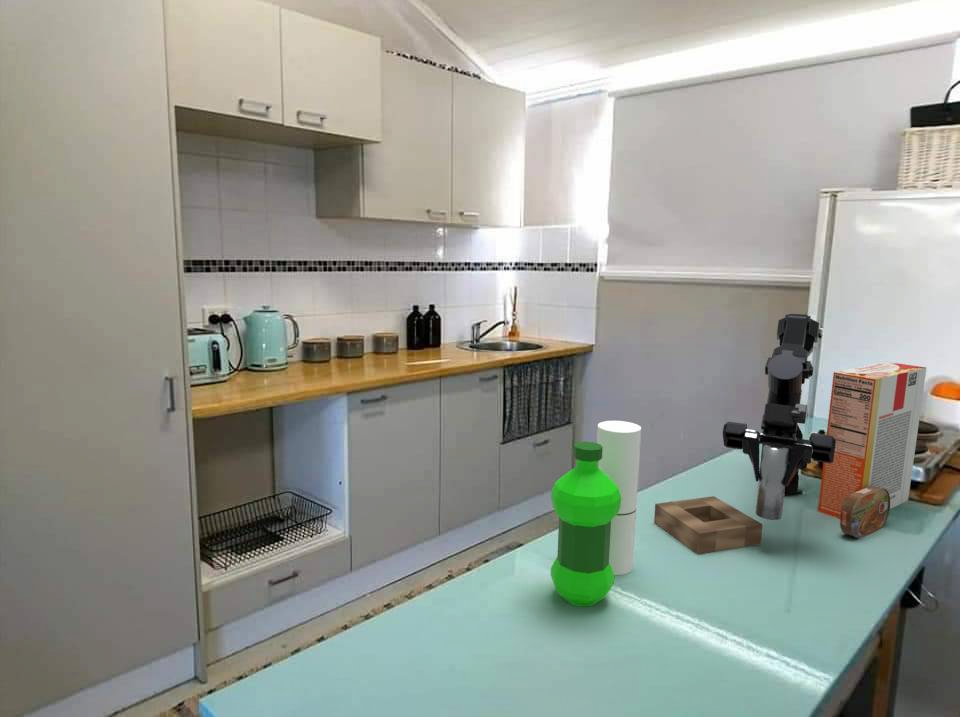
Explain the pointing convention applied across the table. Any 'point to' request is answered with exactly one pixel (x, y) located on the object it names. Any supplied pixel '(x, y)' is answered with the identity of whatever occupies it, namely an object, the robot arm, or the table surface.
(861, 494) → the tin
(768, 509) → the grey glossy round cylinder
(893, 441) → the pasta box
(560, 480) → the plastic bottle
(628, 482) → the cylindrical container
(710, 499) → the collar block
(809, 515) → the table surface
